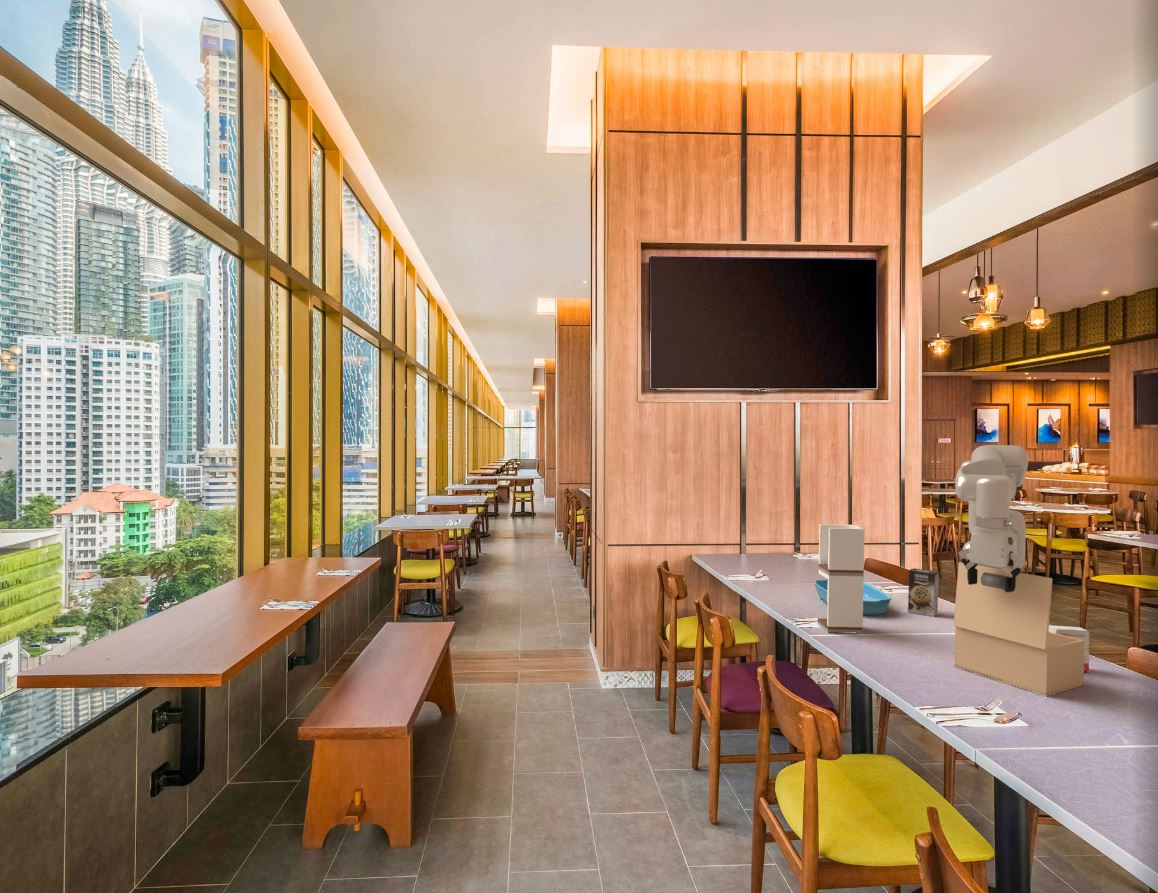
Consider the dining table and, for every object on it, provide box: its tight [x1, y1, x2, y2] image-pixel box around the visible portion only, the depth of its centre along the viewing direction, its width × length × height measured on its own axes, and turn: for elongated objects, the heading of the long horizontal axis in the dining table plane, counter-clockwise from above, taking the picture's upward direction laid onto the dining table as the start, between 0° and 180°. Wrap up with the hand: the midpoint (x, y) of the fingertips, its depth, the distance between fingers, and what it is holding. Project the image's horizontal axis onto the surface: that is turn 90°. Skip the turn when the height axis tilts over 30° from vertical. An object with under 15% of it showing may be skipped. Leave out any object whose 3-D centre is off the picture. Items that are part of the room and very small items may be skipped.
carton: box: [954, 626, 1085, 697], centre depth 184 cm, size 18×24×12 cm
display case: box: [817, 523, 866, 634], centre depth 228 cm, size 11×11×35 cm
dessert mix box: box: [907, 567, 940, 617], centre depth 251 cm, size 9×6×16 cm
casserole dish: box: [813, 578, 892, 616], centre depth 262 cm, size 37×22×7 cm, turn 179°
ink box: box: [1048, 624, 1090, 673], centre depth 191 cm, size 9×5×12 cm, turn 80°
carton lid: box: [953, 561, 1053, 650], centre depth 179 cm, size 18×24×6 cm
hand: (990, 587), depth 178 cm, fingers open, 9 cm apart
